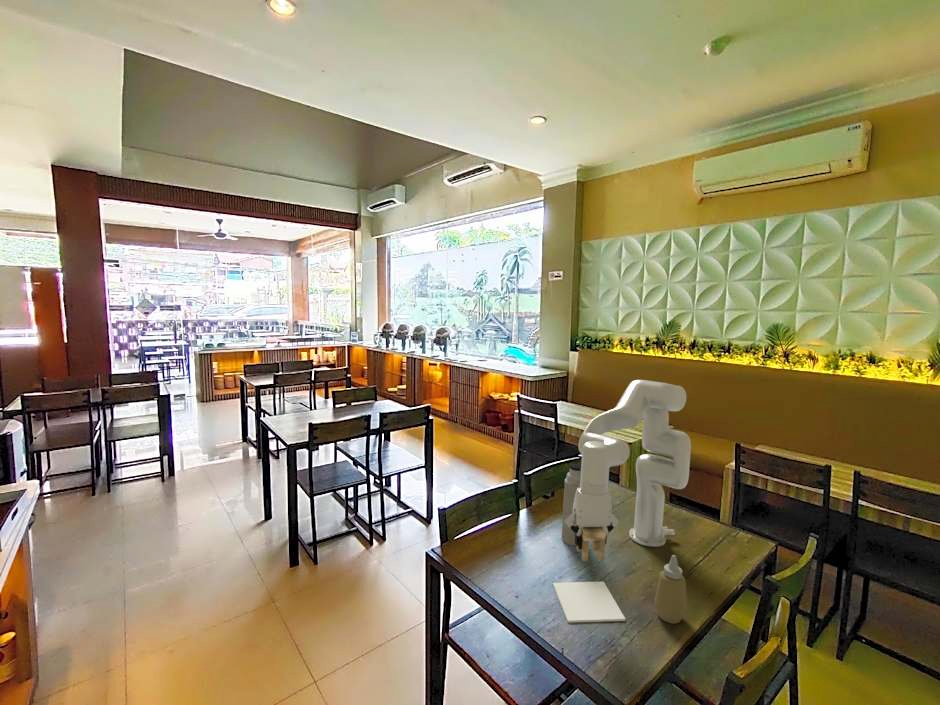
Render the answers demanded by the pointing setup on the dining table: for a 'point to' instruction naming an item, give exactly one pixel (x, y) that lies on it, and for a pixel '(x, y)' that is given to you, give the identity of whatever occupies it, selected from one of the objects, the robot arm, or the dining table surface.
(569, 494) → the thermos bottle
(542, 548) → the dining table surface
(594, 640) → the dining table surface
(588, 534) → the stool
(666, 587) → the squeeze bottle
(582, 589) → the mat
